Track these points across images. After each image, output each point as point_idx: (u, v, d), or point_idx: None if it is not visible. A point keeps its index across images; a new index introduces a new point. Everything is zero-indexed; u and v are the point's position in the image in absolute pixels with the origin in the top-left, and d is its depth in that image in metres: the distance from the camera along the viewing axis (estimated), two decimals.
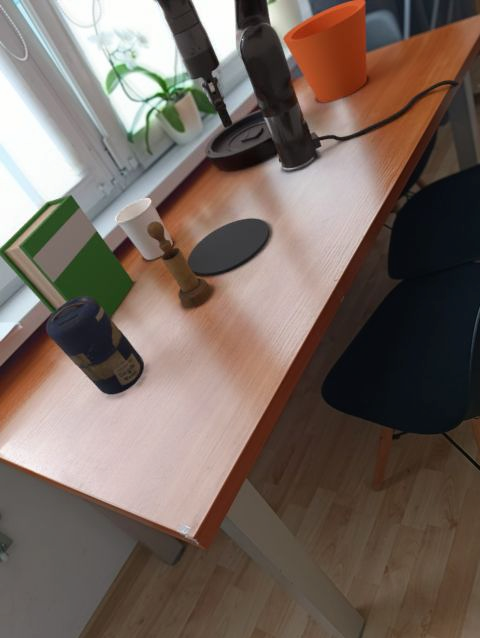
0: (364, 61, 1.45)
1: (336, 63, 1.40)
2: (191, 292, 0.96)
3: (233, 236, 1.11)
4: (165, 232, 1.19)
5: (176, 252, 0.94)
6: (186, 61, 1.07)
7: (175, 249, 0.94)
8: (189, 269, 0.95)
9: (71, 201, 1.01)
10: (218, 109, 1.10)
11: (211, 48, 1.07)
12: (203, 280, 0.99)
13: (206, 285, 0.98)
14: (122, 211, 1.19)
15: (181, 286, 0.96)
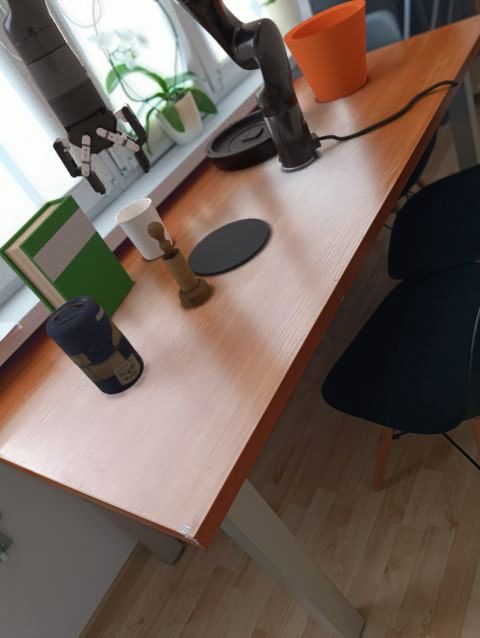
0: (364, 61, 1.45)
1: (336, 63, 1.40)
2: (191, 292, 0.96)
3: (233, 236, 1.11)
4: (165, 232, 1.19)
5: (176, 252, 0.94)
6: None
7: (175, 249, 0.94)
8: (189, 269, 0.95)
9: (71, 201, 1.01)
10: None
11: (56, 101, 0.71)
12: (203, 280, 0.99)
13: (206, 285, 0.98)
14: (122, 211, 1.19)
15: (181, 286, 0.96)
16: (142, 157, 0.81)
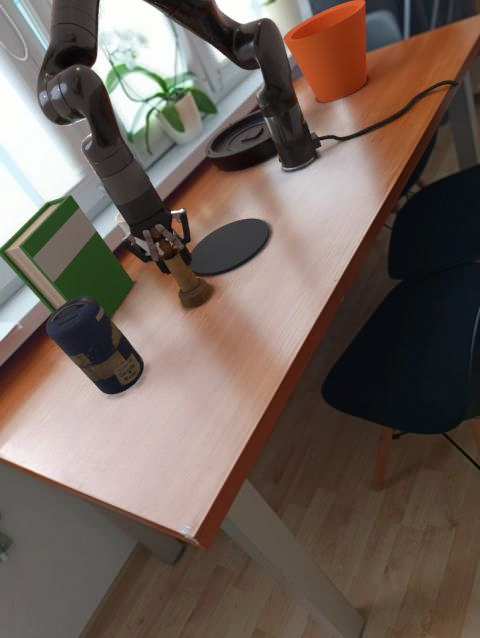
0: (364, 61, 1.45)
1: (336, 63, 1.40)
2: (191, 292, 0.96)
3: (233, 236, 1.11)
4: None
5: (176, 252, 0.94)
6: None
7: (175, 249, 0.94)
8: (189, 269, 0.95)
9: (71, 201, 1.01)
10: None
11: (124, 206, 0.83)
12: (203, 280, 0.99)
13: (206, 285, 0.98)
14: None
15: (181, 286, 0.96)
16: (185, 253, 0.93)
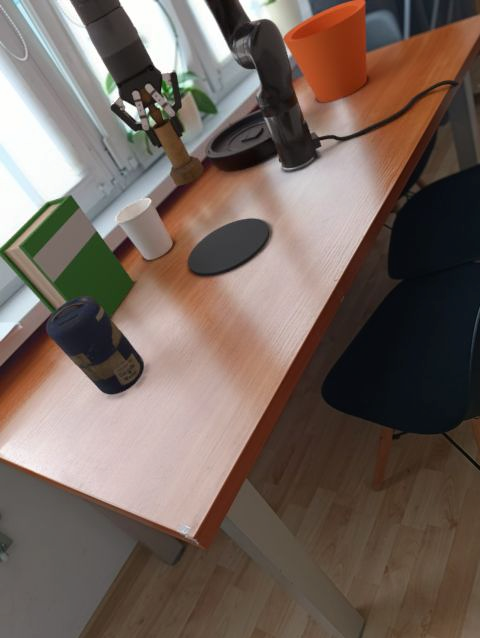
0: (364, 61, 1.45)
1: (336, 63, 1.40)
2: (183, 167, 0.94)
3: (233, 236, 1.11)
4: (165, 232, 1.19)
5: (167, 123, 0.91)
6: None
7: (166, 120, 0.91)
8: (180, 142, 0.92)
9: (71, 201, 1.01)
10: None
11: (112, 58, 0.80)
12: (195, 157, 0.96)
13: (198, 162, 0.95)
14: (122, 211, 1.19)
15: (173, 161, 0.94)
16: (176, 122, 0.90)
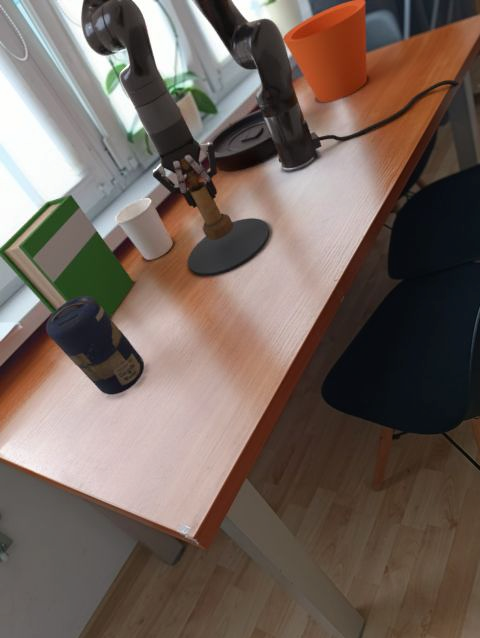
0: (364, 61, 1.45)
1: (336, 63, 1.40)
2: (215, 225, 1.03)
3: (233, 236, 1.11)
4: (165, 232, 1.19)
5: (202, 186, 1.01)
6: None
7: (201, 183, 1.01)
8: (214, 202, 1.02)
9: (71, 201, 1.01)
10: None
11: (157, 135, 0.90)
12: (226, 215, 1.06)
13: (229, 219, 1.05)
14: (122, 211, 1.19)
15: (206, 219, 1.03)
16: (211, 186, 1.00)
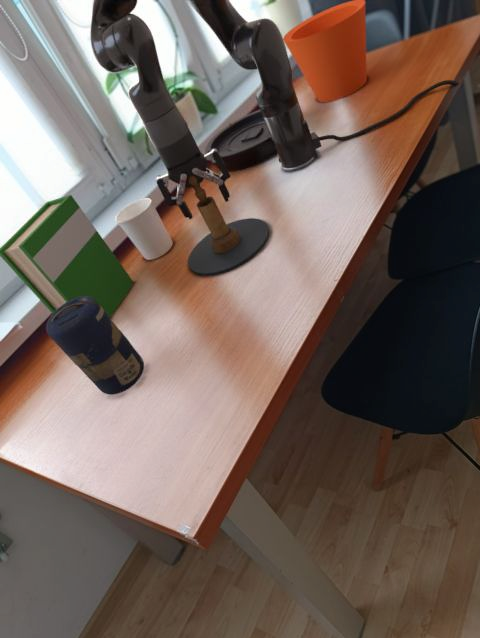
0: (364, 61, 1.45)
1: (336, 63, 1.40)
2: (222, 238, 1.06)
3: None
4: (165, 232, 1.19)
5: (209, 201, 1.03)
6: None
7: (208, 198, 1.03)
8: (221, 217, 1.04)
9: (71, 201, 1.01)
10: None
11: (165, 149, 0.91)
12: (233, 228, 1.08)
13: (236, 233, 1.07)
14: (122, 211, 1.19)
15: (213, 233, 1.06)
16: (224, 190, 1.01)
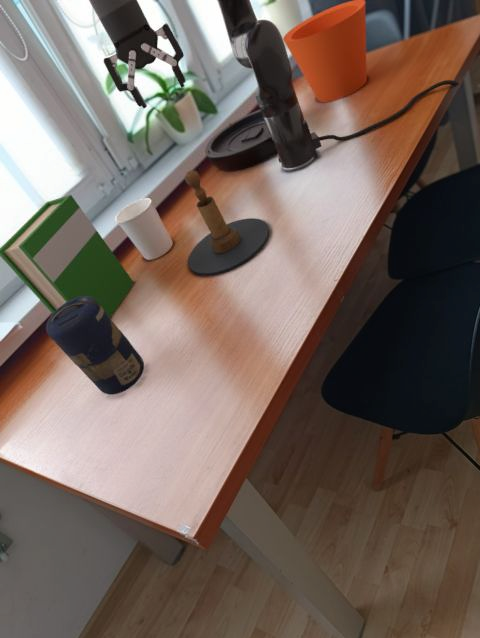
0: (364, 61, 1.45)
1: (336, 63, 1.40)
2: (222, 238, 1.06)
3: None
4: (165, 232, 1.19)
5: (209, 201, 1.03)
6: None
7: (208, 198, 1.03)
8: (221, 217, 1.04)
9: (71, 201, 1.01)
10: None
11: (109, 17, 0.84)
12: (233, 228, 1.08)
13: (236, 233, 1.07)
14: (122, 211, 1.19)
15: (213, 233, 1.06)
16: (178, 72, 0.93)
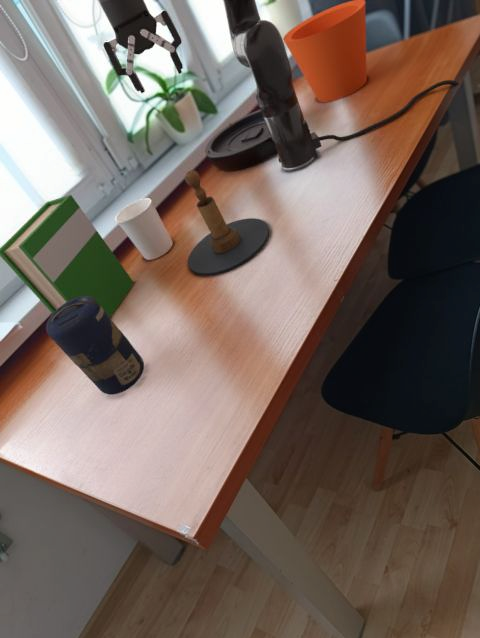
0: (364, 61, 1.45)
1: (336, 63, 1.40)
2: (222, 238, 1.06)
3: None
4: (165, 232, 1.19)
5: (209, 201, 1.03)
6: None
7: (208, 198, 1.03)
8: (221, 217, 1.04)
9: (71, 201, 1.01)
10: None
11: (109, 2, 0.86)
12: (233, 228, 1.08)
13: (236, 233, 1.07)
14: (122, 211, 1.19)
15: (213, 233, 1.06)
16: (176, 59, 0.96)
